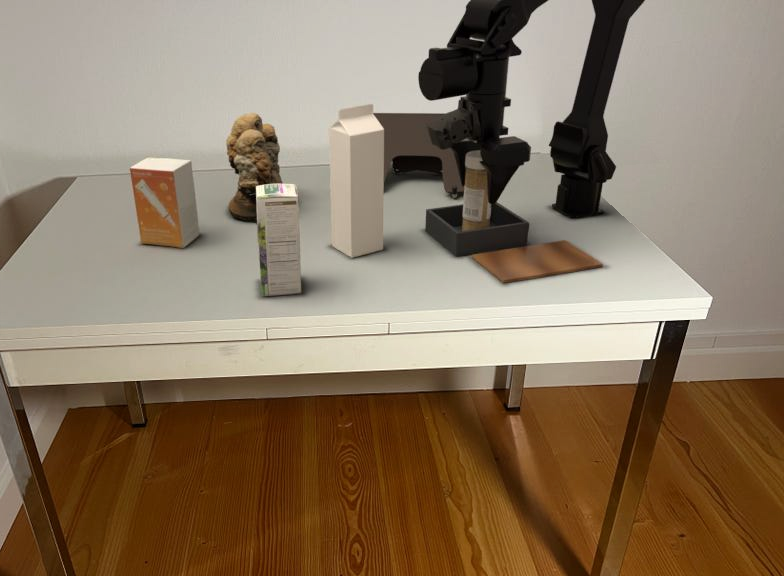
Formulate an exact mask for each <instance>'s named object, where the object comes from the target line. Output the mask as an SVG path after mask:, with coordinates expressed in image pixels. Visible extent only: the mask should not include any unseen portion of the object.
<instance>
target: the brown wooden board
mask: <svg viewBox="0 0 784 576" xmlns="http://www.w3.org/2000/svg"><path fill="white" fill-rule="evenodd" d="M471 258H472V259H473V260H474V261H475V262H476V263H478V264H479V265H480V266H481V267H482V268H484V269H485V270H486V271H487V272H488V273H490V274H491V275H492V276H494V277H495V278H496V279H498V280H499V281H500V282H501V283H502V284H508V283H514V282H520V281H526V280H532V279H538V278H544V277H550V276H556V275H561V274H568V273H575V272H580V271H585V270H586V271H587V270H593V269H598V268H603V267H604V263H602V262H601V261H599V260H597V259H596V258H594V257H593V256H591V255H589V254H588V253H586V252H585V251H583V250H582V249H580V248H578V247H577V246H575V245H573V244H572V243H570V242H569V241H567V240H565V239H564V240H558V241H551V242H545V243H538V244H532V245H527V246H521V247H515V248H509V249H502V250H496V251H489V252H483V253H477V254H471Z"/></svg>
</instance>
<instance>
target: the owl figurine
mask: <svg viewBox="0 0 784 576" xmlns="http://www.w3.org/2000/svg"><path fill="white" fill-rule="evenodd" d="M230 131H231V132H230V134H229V135H228V136H227V138H226V140H225V141H226V144H225V145H226V155H227V156H228V163H229V166H230V168H231V169H233V170H234V174H235V175H239V178H238V181H237V190H236V192H235V195H234V196H233V197H232V198H231V199H230V201H229V203H228V212H229V213H230V215H231V216H232V217H233V218H235V219H240V220H241V221H245V220H257V204H256V186H260V185H266V184H284V183H283V180H282V176H281V174H280V173H281V172H280V169H281V168H280V164H279V154H280V151H281V147H280V144H279V139H278V138H279V137H278V136H277V134H276V129H275V126H274V125H272V124H270V123H263V119H262V117H261V116H260V115H259V113H256V112H250V113H244V114H242V115H241V116H239V117H237V118H236V119H235V120H234V122H233V125H232V127H231V130H230ZM251 195H254V196H251Z"/></svg>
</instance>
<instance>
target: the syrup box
mask: <svg viewBox="0 0 784 576" xmlns="http://www.w3.org/2000/svg"><path fill="white" fill-rule="evenodd" d="M255 195H256V204H257V219H256V231H257V232H256V233H257V234H256V235H257V248H258V249H257V250H258V261H259V262H258V263H259V264H258V265H259V276H260V277H259V278H260V288H261V289H260V292H261V296H262V297H272V296H287V295H297V294H302V270H301V269H302V267H301V246H300V245H301V241H300V239H301V238H300V212H299V195H298V188H297V185H296V184H294V183H283V184H266V185H260V186H256V194H255Z"/></svg>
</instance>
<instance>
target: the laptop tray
mask: <svg viewBox="0 0 784 576" xmlns="http://www.w3.org/2000/svg"><path fill="white" fill-rule="evenodd" d="M446 113H447V112H446ZM446 113H444V112H443V113H440V112H439V113H437V112H436V113H434V112H433V113H430V112H418V113H417V112H373V114H374V116H375V117H376V119H377V120H378V121H379V123H380V124H381V126H382V127H383V128H384V182H385V181H386V178H387V177H388V174H389V171H390V167H391V164H392V172H393V173H394V174H397V175H400V174H405V173H410V172H426V173H431V174H434V175H438V176H439V175H440V176H442V182H443V187H444V191H445V193H447V194H451V196H452V199H456V198H457V196H458V194H460V193H464V186H462V185H461V180H460V176H459V172H458V167H457V163H456V159H455V155H454V152H453V151H452V150H451V149H450V148H448V149H444V150H442V149H439V147H438V146H436V145H433V144H432V142H431V139H430V135H429V132H428V129H427V126H426V125H427V123H429V122H430V121H432V120H434V119H436V118H438V117H440V116H442V115H444V114H446Z"/></svg>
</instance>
